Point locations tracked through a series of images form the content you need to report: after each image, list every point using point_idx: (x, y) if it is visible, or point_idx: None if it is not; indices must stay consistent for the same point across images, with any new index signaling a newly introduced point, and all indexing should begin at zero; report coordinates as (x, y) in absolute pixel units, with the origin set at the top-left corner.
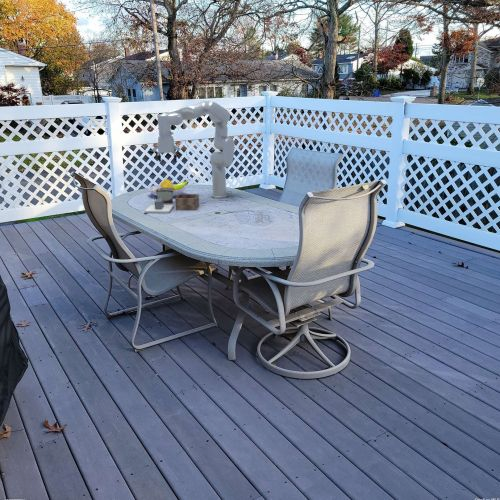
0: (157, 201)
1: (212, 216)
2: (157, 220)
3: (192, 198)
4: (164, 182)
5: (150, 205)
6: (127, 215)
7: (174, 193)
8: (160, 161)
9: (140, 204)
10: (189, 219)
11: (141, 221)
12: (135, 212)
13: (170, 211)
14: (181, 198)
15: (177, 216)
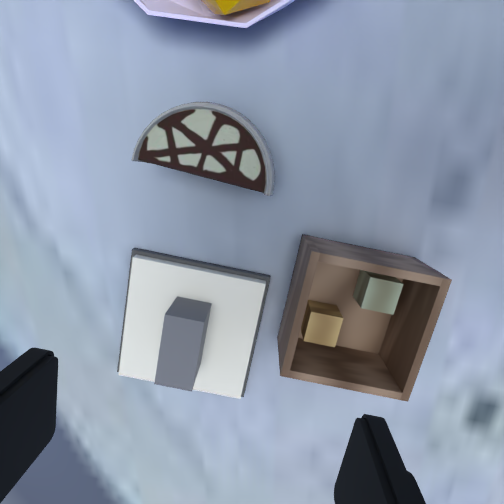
0: (171, 381)
1: (443, 461)
2: (193, 473)
3: (389, 392)
4: None
5: (132, 270)
6: None
7: (278, 10)
8: (53, 419)
9: (64, 156)
10: (332, 484)
11: (125, 474)
12: (71, 329)
13: (248, 370)
14: (319, 379)
15: (281, 432)
